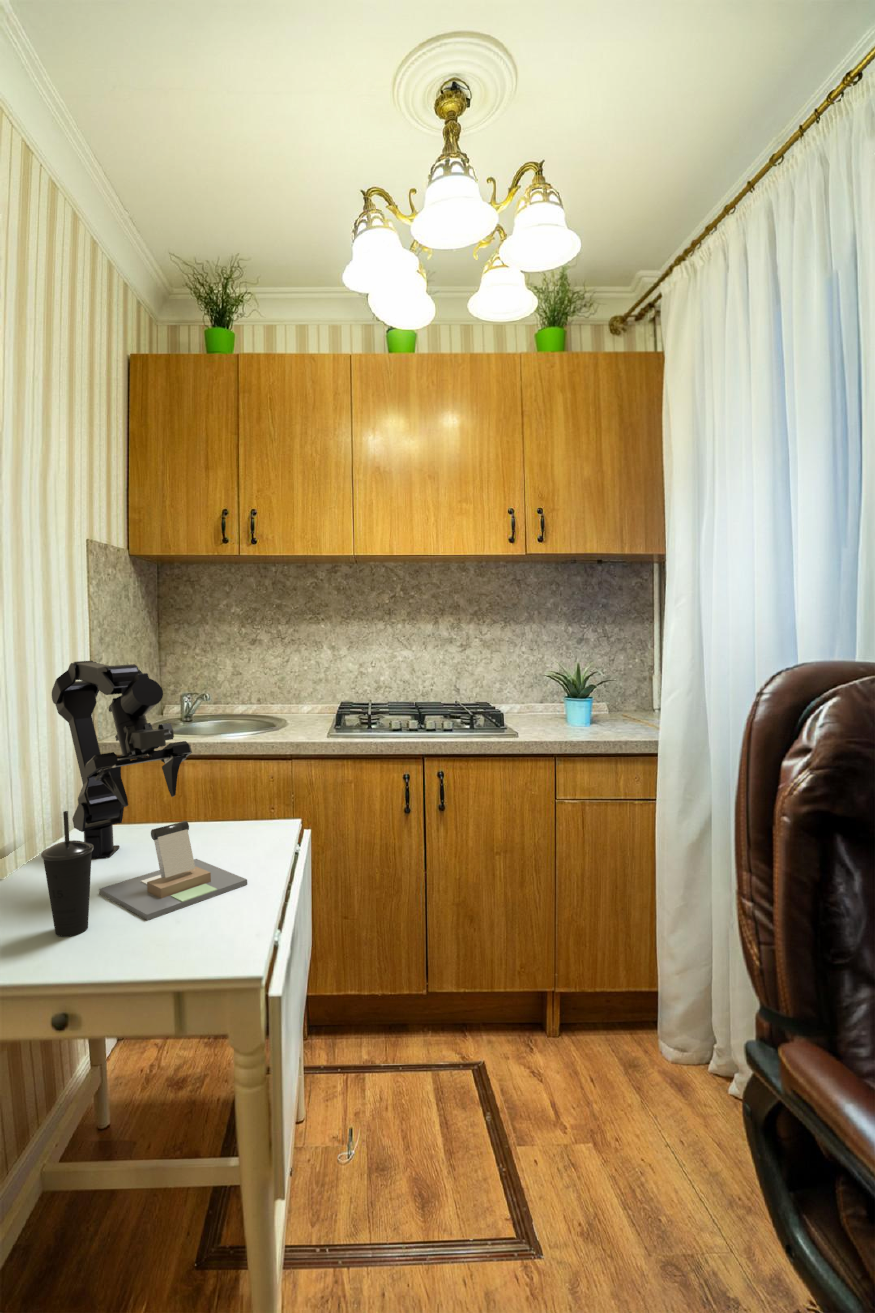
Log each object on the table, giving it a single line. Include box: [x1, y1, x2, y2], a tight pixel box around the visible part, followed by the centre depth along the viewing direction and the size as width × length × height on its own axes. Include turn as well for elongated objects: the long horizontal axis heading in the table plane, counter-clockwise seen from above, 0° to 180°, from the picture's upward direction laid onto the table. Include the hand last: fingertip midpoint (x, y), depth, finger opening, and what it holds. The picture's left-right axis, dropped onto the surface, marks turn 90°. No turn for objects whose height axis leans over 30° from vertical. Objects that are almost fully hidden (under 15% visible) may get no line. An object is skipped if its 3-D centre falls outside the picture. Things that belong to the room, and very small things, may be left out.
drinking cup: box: [40, 810, 93, 938], centre depth 117 cm, size 8×8×20 cm
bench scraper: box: [150, 820, 195, 878], centre depth 134 cm, size 2×7×9 cm, turn 139°
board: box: [98, 858, 248, 921], centre depth 135 cm, size 18×20×3 cm
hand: (150, 801), depth 136 cm, fingers open, 9 cm apart
